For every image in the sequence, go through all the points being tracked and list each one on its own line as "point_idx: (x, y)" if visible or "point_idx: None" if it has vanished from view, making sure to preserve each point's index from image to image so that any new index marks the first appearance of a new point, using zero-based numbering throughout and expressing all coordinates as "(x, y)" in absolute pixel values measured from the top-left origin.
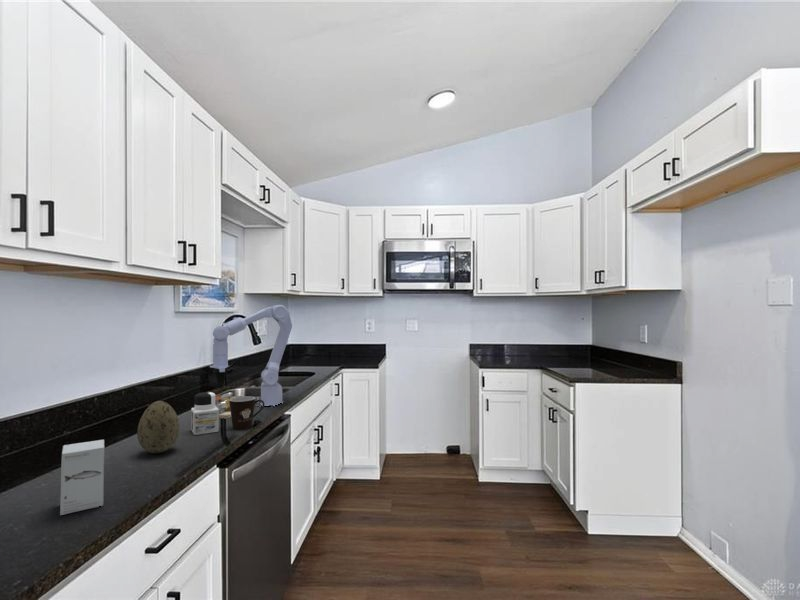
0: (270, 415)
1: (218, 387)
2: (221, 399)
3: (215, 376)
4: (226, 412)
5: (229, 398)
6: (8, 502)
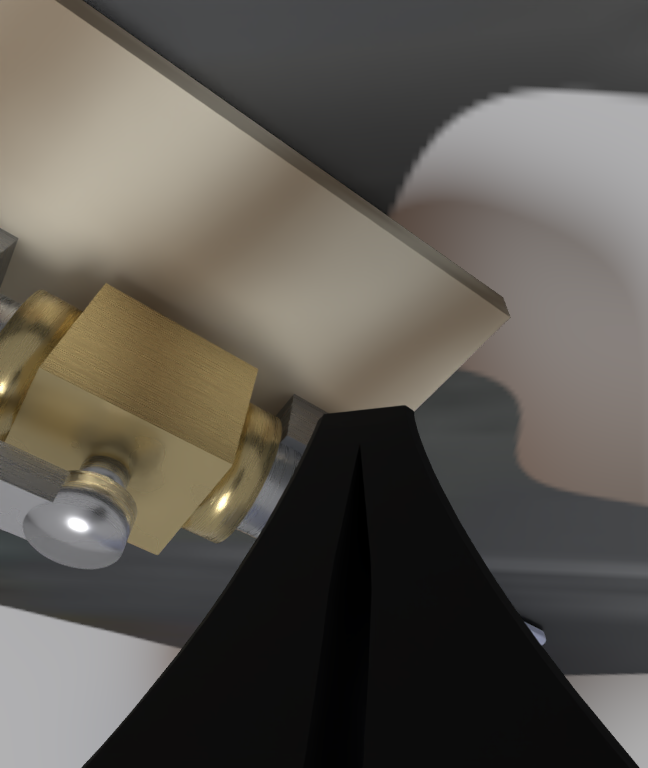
0: (23, 603)
1: (319, 429)
2: (42, 366)
3: (236, 731)
4: None
5: None
6: None
